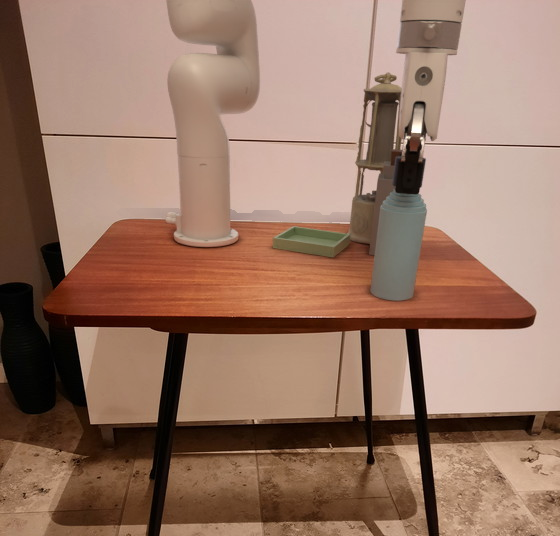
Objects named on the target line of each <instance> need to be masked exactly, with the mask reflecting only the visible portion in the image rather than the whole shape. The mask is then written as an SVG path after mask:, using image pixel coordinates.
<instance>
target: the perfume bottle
mask: <svg viewBox="0 0 560 536" xmlns="http://www.w3.org/2000/svg"><path fill="white" fill-rule="evenodd" d="M400 154H402V149H400V150H398V149H395V148H393V149H392V151H391V162H388V161H384V165H383V168H384V174H380V172H378V173H379V174H378V177H377V183H376V190H375V191H376V198H375V207H374V215H373V224H372V233H371V241H370V244H369V251H368V255H369V256H375V248H376V240H377V231H378V223H379V215H380V207H381V205H382V203H383V201H384V200H386V197H387V196H390V193H391V192H393V190H394V188H396V187H395V186H393V185H392V182H393V174H394V166H395V159H396V157H397V156H400Z"/></svg>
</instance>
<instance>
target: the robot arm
mask: <svg viewBox="0 0 560 536" xmlns="http://www.w3.org/2000/svg"><path fill="white" fill-rule="evenodd" d="M466 1H467V0H401V8H400V17H399V26H398V32H397V42H396V51H395V54H400V55H401V54H402V55H405V57H404V64H403V73H402V81H401V88H402V89H401V99H400V112H399V136H400V138H402V140H403V141H402V148H401V150H402V154H400V156H402V157H401V161H399V165H398V173H397V180H396V188H395V192H396V193H402V194H415V195H416V194H418V193H419V194H420V191H421V188H420V184H421V178H422V171H423V165H424V163H422V160H423V158H424V153H425V146H426V142H427V141H426V140H427V137H429V139H430V141H431V142H434V141H436V140H437V139H438V133H439V125H440V119H441V112H442V105H443V100H444V94H445V93H444V92H445V86H446V78H447V69H448V58H449V56H457V55H458V49H459V44H460V38H461V31H462V24H463V18H464V12H465V6H466ZM166 7H167V8H166V9H167V15H168V20H169V25H170V28H171V31H172V33H173V34H174V36H175V38H177V39H178V40H179V41H181V42H184V43H187V44H191V45H199V46H211V47H215V48H216V49H215V51H216V53H208V52H207V53H206V52H192V53H191V52H190V53H186V54H183V55H180V56H179V57H178V58H176V59H175V60H174V61H173V62H172V63H171V65H170V67H169V70H168V73H167V78H166V79H167V84H166V85H167V92H168V96H169V101H170V104H171V109H172V114H173V120H174V128H175V138H176V139H175V140H176V154H177V165H178V166H177V168H178V171H177V172H178V186H179V187H178V189H179V209H180V213H178V212H171V211H168V213H166V217H165V224H166V225H175V227H176V230H175V231H174V232H173V238H174V241H175V242H177V243H179V244H181V245H184V246H190V247H196V248H216V247H224V246H229V245H233V244H234V243H236V242H238V240H239V232H238V231H237V230H236V229H234V228H231V155H230V153H231V152H230V139H229V135H228V132H227V129H226V126H225V124H224V122H223V120H222V117H221V116H222V115H241V114H245V113H247V112H249V111H250V110H252V109H253V108H254V106H255V105H256V104H257V101H258V100H259V96H260V92H261V91H260V90H261V71H260V69H261V68H260V52H259V38H258V37H259V36H258V23H257V16H256V15H257V14H256V10H255V6H254V4H253V1H252V0H166Z"/></svg>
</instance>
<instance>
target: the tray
mask: <svg viewBox="0 0 560 536" xmlns="http://www.w3.org/2000/svg"><path fill="white" fill-rule="evenodd" d="M350 236H351V234H347V232H346V233H345V232H339V231H331V230H324V229H316V228H310V227H303V226H297V225H293V226H291V227H289V228H288V229H285V230H284V231H282V232H281V233H279V234H277V235H275V236H273V237H272V249H277V250H283V251H288V252H294V253H301V254H307V255H315V256H321V257H327V258H335V257H336V256H337V255H339V254H340V253H341V252H342V251H344V250H345V249H346V248H347V247H348V246H349V245H350V244H351V240H350Z"/></svg>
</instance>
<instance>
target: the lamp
mask: <svg viewBox="0 0 560 536" xmlns="http://www.w3.org/2000/svg"><path fill="white" fill-rule="evenodd" d="M373 79H374V82H375V83H377V84H376V85H373V86H372V87H370V88H363V92H364V96H363V112H362V120H361V125H360V129H359V138H358V146H357V148H358V151H357V156H356V160H355V162H354V163H355V165H356V166H357V169H358V171H357V178H356V185H355V194H354V196H353V197H352V200H351V210H350V219H349V227H348V230H347V232H346V234H351V236H350V241H351V242H355V243H359V244H367V245H370V241H371V233H372V224H373V215H374V207H375V198H376V190H371V192H366V193H365V194H363V189H364V179H365V174H364V173H365V171H366V170H369V171H375V172H376V171H377V172H378V171H379V173H380V174H384V168H383V165H384V161H388V162H391V151H392V149H398V150H402V148H401V147H402V140H403V139H402V138H400V136H399V112H400V99H401V89H402V86H401V87H400V85H398V84H394V83H392V82H396V81H397V79H398V78H397V75H395V74H392V73H391V72H386V73H385V74H379V75H377V76H375V77H374V78H373ZM370 102H372V103H371V106H372V108H371V119H370V122H371V123H370V124H369V123H368V122H367V121H366V120H365V118H366V111H367V107H368V105H369V104H370ZM396 123H397V125H396ZM365 125H366V126H367V127H368V128H369V135H368V143H367V151H366V157H365V159H361V152H362V145H363V136H364V128H365ZM395 134H396V136H395ZM394 146H395V147H394ZM361 169H362V172H361Z"/></svg>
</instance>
